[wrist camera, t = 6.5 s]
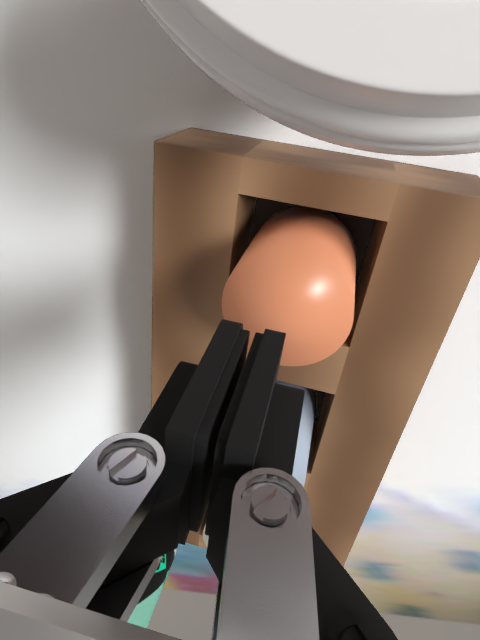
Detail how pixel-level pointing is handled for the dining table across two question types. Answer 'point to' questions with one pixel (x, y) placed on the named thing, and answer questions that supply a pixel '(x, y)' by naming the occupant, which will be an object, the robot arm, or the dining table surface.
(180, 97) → the dining table surface
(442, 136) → the coffee cup
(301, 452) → the blue-grey egg
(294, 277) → the rust egg
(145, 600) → the spray can
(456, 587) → the dining table surface
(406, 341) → the wooden egg holder
